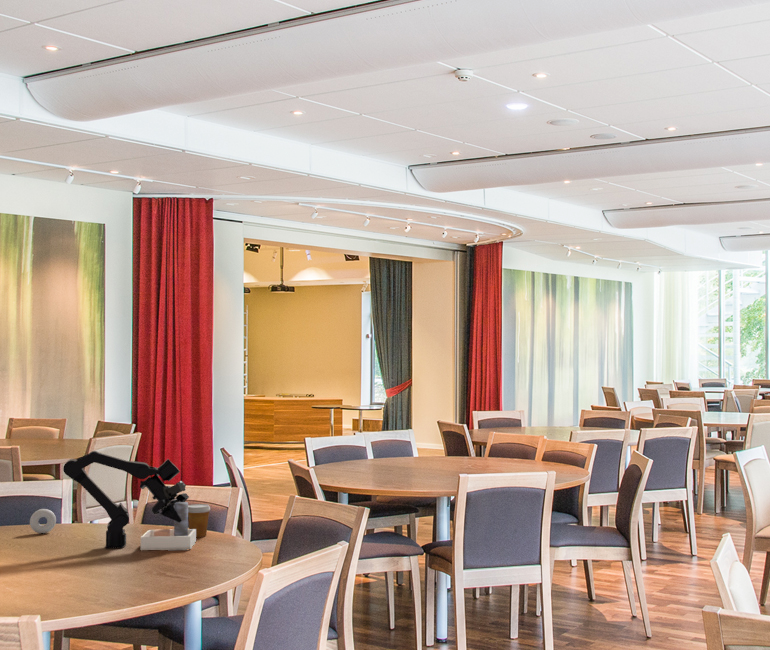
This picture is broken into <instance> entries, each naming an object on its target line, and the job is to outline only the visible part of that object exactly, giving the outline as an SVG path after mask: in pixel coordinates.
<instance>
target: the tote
mask: <svg viewBox="0 0 770 650" xmlns="http://www.w3.org/2000/svg"><path fill="white" fill-rule="evenodd" d="M156 530H157V529H148V530H147V531H146V532H145V533H144V534H143V535H141V536H140V550H168V551H188V550H187V549H191V550H192V548H193V547H194V546H195V545H196V543H197V538H196V529H189V528H188V536H174V528H173V529H170V536H154V532H155V531H156ZM195 542H196V543H195ZM193 545H194V546H193ZM192 546H193V547H192Z"/></svg>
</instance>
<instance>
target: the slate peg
mask: <svg viewBox="0 0 770 650" xmlns="http://www.w3.org/2000/svg"><path fill="white" fill-rule="evenodd" d="M188 505H189V502H188V501H185V502H177V503H174V509H175V511H176V512H177V514H178V515H179V517H180V518H181V520H182V521H181V522H180V523H179V522H177V521H175V520H173V522H174V523H173V529H174V536H188V529H189V522H188Z"/></svg>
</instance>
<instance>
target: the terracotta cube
mask: <svg viewBox="0 0 770 650" xmlns="http://www.w3.org/2000/svg"><path fill="white" fill-rule="evenodd" d="M155 530H156V531H155V532H154V536H170V530H171V528H170V529H169V528H167V529H166V528H163V529H162V528H161V529H158V528H156V529H155Z"/></svg>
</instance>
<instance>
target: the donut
mask: <svg viewBox="0 0 770 650" xmlns="http://www.w3.org/2000/svg"><path fill="white" fill-rule="evenodd" d="M41 518H46V523H45V524H43V525H42V524H40V522H39V521H40V519H41ZM56 524H57V516H56V515H55V513H54V512H53V511H52V510H50V509H47V508H40V509H38V510H36V511H34V512H33V514H31V517H30V519H29V527H30V528H31V530H32V531H33V532H34V533H37V534H41V533H43V534H48V533H49V532H50V531H52V530H53V529H54V528H55V525H56Z"/></svg>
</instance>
